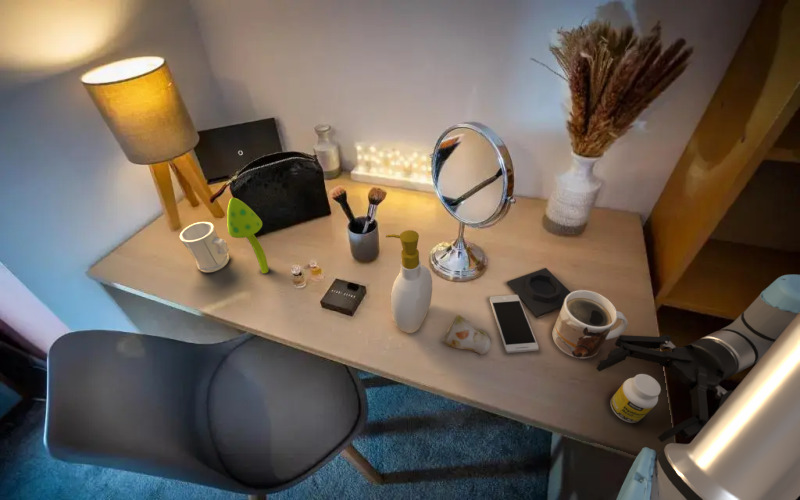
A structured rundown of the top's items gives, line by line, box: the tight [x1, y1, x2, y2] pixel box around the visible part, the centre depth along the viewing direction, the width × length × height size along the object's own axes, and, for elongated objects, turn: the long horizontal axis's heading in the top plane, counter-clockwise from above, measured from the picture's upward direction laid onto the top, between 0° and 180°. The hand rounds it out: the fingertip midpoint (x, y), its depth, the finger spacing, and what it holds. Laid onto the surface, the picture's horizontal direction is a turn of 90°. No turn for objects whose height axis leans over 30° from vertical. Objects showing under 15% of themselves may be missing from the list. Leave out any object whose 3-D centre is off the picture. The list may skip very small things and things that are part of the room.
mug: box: [551, 289, 629, 359], centre depth 74 cm, size 10×12×11 cm
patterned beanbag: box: [443, 314, 492, 355], centre depth 77 cm, size 8×10×10 cm
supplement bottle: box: [610, 373, 662, 424], centre depth 63 cm, size 5×5×10 cm
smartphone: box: [489, 294, 540, 354], centre depth 82 cm, size 7×16×1 cm, turn 3°
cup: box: [178, 221, 230, 273], centre depth 100 cm, size 10×9×12 cm
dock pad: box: [506, 267, 572, 319], centre depth 87 cm, size 12×12×3 cm
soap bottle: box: [385, 229, 433, 334], centre depth 76 cm, size 14×9×26 cm, turn 158°
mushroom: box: [226, 197, 269, 274], centre depth 92 cm, size 8×8×25 cm
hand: (628, 399), depth 62 cm, fingers open, 13 cm apart
